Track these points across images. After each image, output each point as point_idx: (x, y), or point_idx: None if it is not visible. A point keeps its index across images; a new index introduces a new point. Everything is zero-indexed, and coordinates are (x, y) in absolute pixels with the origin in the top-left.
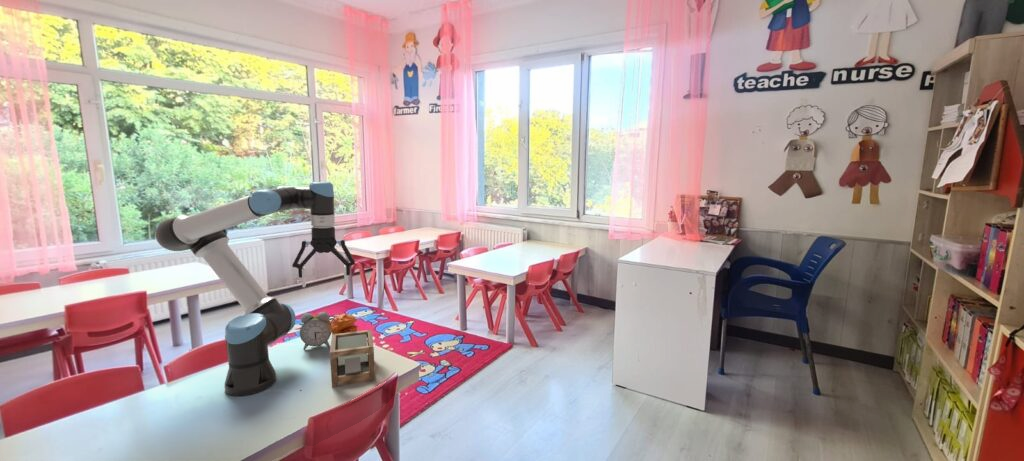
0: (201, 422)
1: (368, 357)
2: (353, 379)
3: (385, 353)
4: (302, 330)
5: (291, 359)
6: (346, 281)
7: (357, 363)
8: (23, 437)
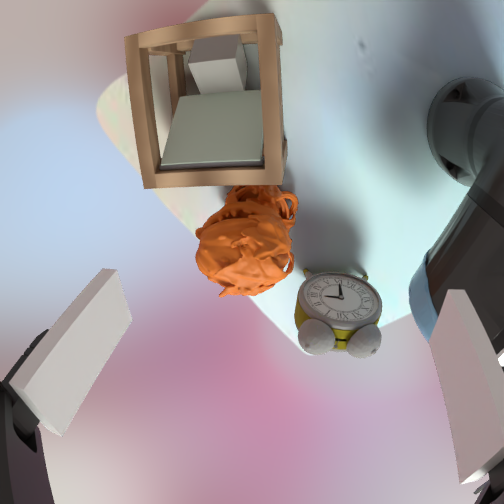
0: None
1: None
2: None
3: (156, 190)
4: (375, 307)
5: (396, 232)
6: (87, 285)
7: (199, 49)
8: None
